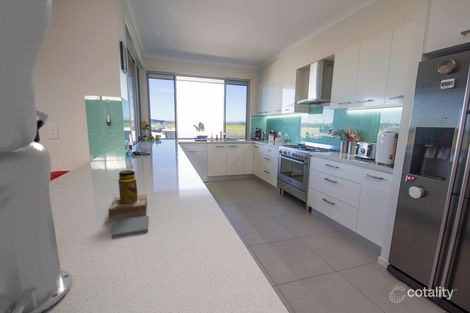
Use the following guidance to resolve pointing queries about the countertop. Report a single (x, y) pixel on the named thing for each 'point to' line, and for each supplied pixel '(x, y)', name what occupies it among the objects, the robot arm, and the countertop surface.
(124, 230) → the coaster
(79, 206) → the countertop surface
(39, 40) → the robot arm
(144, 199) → the block
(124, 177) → the condiment
